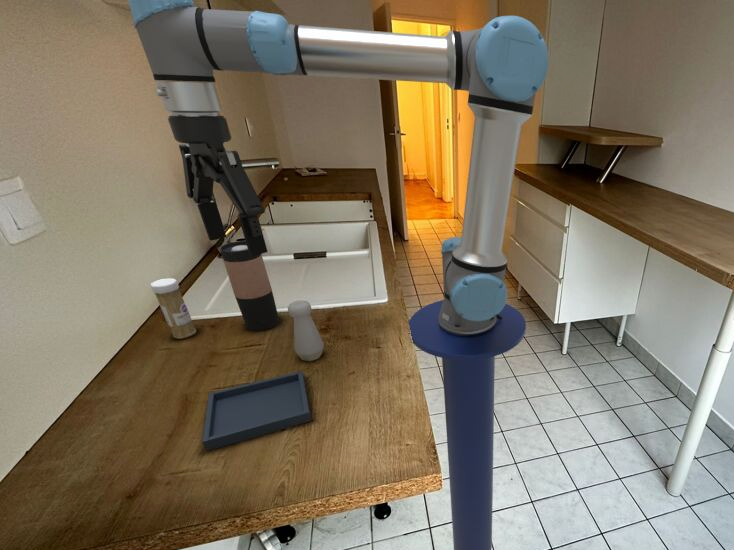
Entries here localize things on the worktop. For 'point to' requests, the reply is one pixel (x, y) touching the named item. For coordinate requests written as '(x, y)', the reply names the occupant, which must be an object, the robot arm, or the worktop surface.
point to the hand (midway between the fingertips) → (237, 246)
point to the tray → (255, 410)
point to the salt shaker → (305, 332)
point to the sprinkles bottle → (173, 307)
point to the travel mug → (250, 286)
